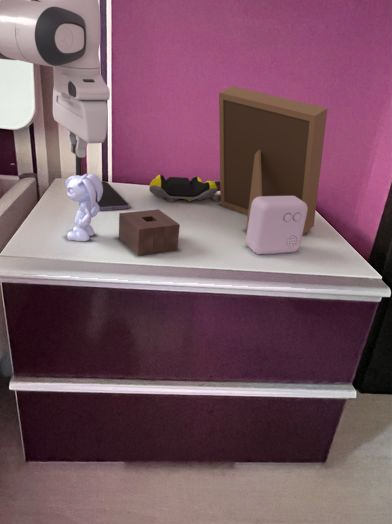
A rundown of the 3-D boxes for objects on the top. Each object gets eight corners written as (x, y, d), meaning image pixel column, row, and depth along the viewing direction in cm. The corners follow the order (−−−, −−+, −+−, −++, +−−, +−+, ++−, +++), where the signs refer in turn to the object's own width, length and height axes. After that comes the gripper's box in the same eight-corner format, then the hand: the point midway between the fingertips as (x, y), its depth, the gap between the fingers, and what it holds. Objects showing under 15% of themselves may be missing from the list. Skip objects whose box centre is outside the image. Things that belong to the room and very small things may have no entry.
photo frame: (231, 201, 131) (247, 84, 117) (312, 230, 120) (341, 106, 107) (191, 214, 121) (204, 88, 107) (276, 247, 110) (302, 112, 96)
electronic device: (255, 257, 105) (264, 205, 99) (244, 247, 108) (252, 196, 103) (301, 254, 108) (312, 203, 103) (289, 244, 112) (299, 195, 107)
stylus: (77, 189, 119) (76, 120, 111) (75, 188, 120) (73, 118, 112) (83, 189, 120) (82, 120, 112) (80, 187, 120) (79, 118, 113)
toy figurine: (72, 227, 108) (71, 164, 101) (104, 232, 107) (105, 169, 101) (59, 240, 102) (57, 174, 95) (93, 246, 101) (93, 180, 95)
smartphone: (97, 207, 116) (75, 182, 127) (97, 212, 117) (75, 187, 127) (130, 205, 119) (106, 181, 130) (129, 210, 120) (106, 185, 130)
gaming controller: (216, 208, 126) (207, 193, 134) (219, 183, 123) (210, 170, 131) (150, 205, 123) (144, 190, 131) (151, 180, 120) (146, 167, 128)
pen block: (137, 256, 100) (139, 229, 97) (118, 238, 106) (119, 213, 103) (177, 250, 104) (179, 224, 101) (156, 233, 110) (158, 209, 107)
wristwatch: (233, 181, 132) (213, 175, 133) (223, 194, 128) (203, 188, 129) (231, 194, 134) (212, 188, 135) (222, 207, 130) (202, 201, 132)
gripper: (43, 71, 114) (46, 142, 121) (81, 91, 100) (81, 170, 107) (73, 72, 117) (74, 141, 124) (113, 92, 103) (112, 168, 110)
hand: (78, 154), depth 116 cm, fingers closed on stylus, 1 cm apart
